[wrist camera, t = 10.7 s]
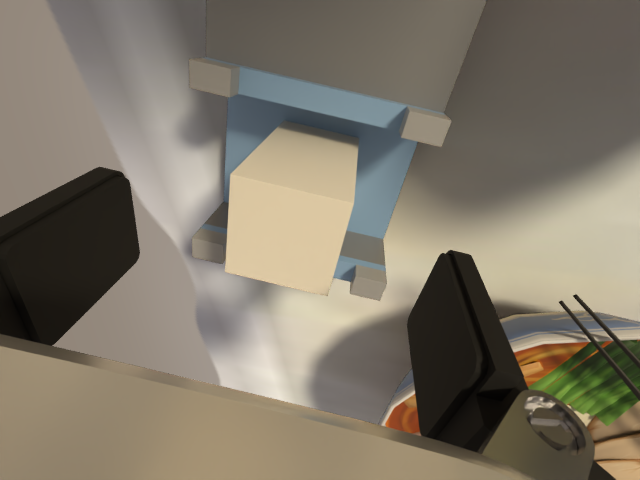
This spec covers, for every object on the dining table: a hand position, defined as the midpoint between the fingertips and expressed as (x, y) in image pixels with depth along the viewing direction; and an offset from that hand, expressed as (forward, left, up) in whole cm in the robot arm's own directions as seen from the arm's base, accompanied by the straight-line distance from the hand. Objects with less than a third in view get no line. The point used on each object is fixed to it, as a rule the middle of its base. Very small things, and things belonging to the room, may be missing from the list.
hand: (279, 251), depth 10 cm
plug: (+1, 0, -9) cm, 9 cm away
